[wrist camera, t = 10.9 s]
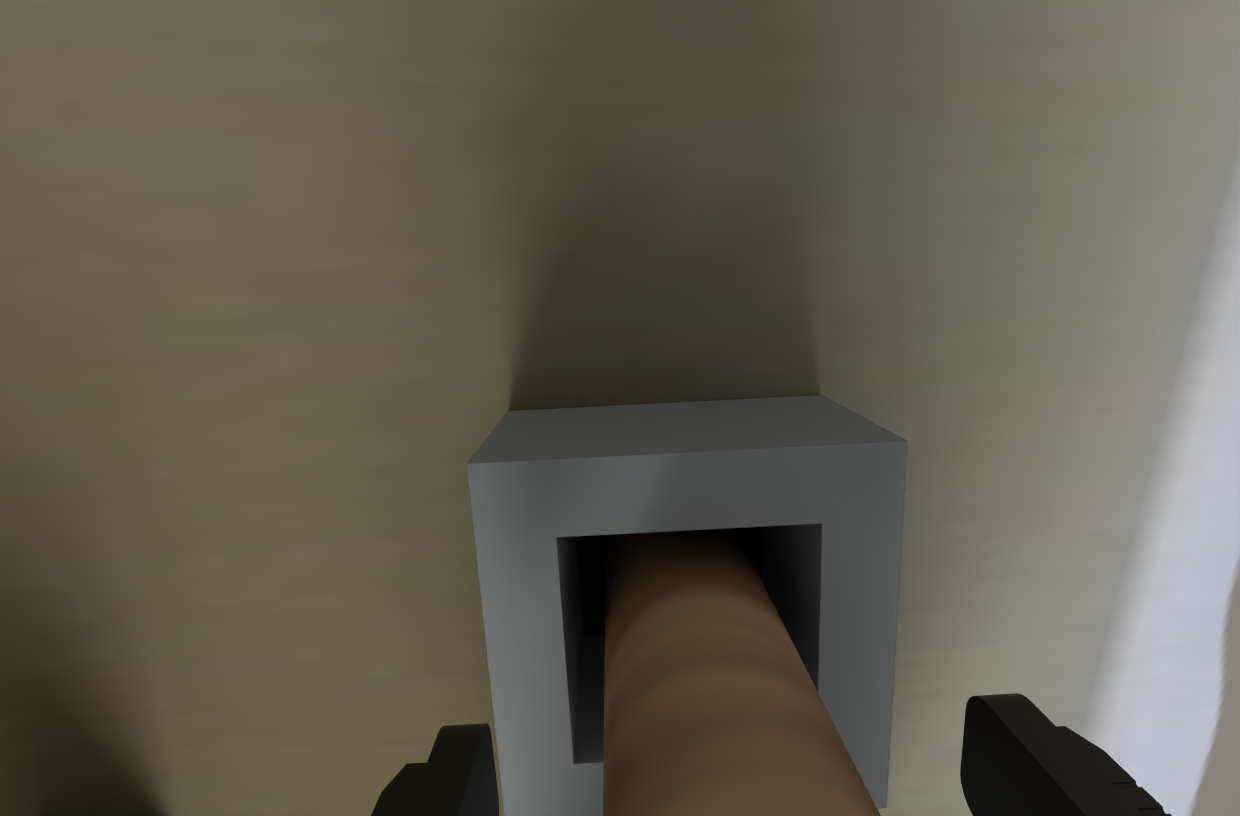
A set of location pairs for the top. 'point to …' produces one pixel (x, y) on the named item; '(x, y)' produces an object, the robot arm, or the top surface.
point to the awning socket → (678, 501)
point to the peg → (710, 690)
